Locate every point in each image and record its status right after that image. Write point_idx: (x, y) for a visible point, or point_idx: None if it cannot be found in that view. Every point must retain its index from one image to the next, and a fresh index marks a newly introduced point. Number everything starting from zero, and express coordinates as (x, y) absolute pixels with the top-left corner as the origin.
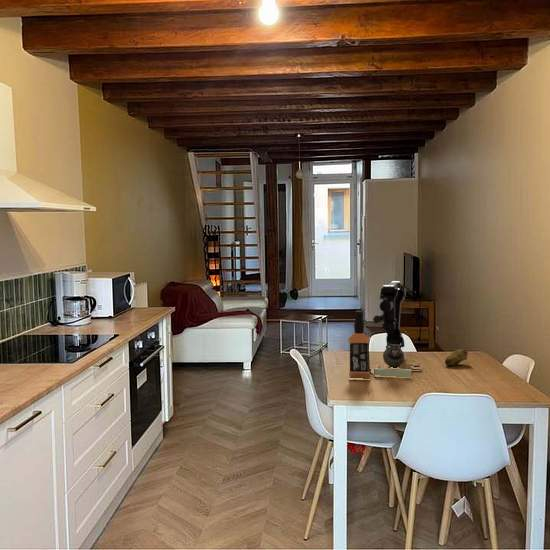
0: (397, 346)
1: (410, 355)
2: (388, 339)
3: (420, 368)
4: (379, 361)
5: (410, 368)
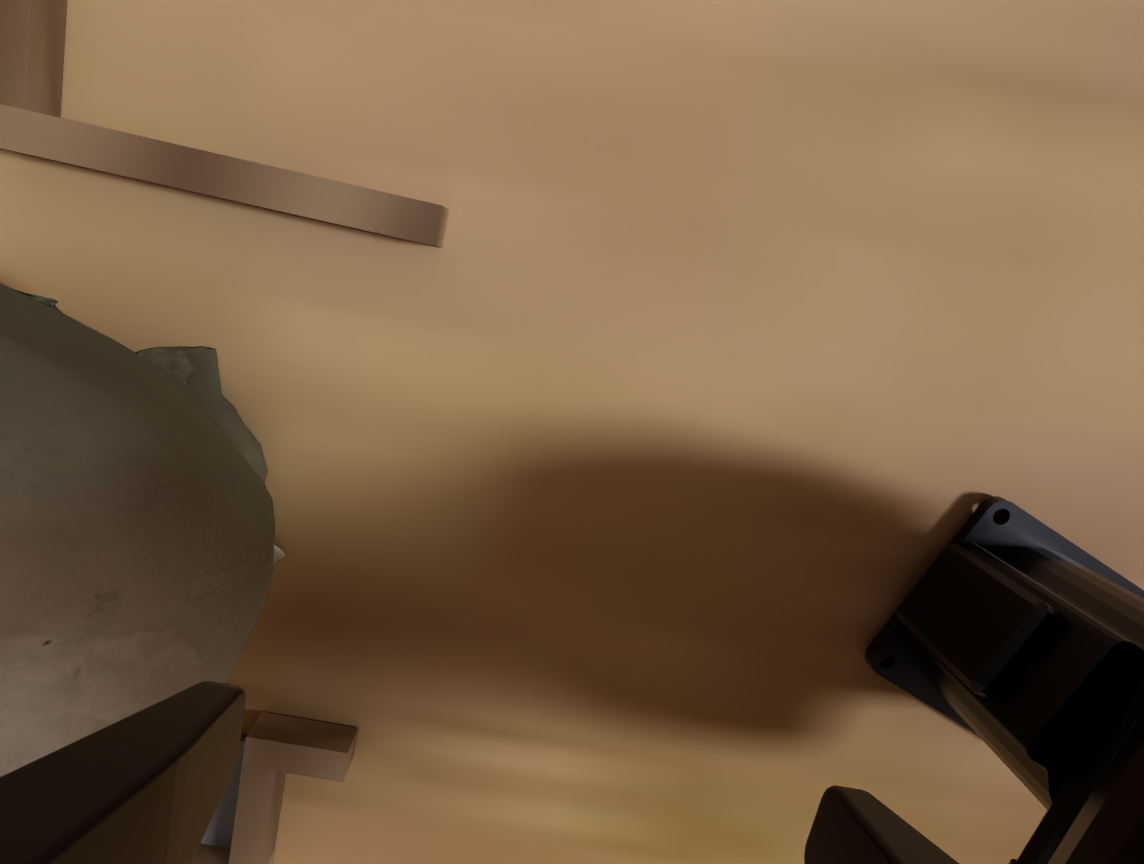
0: (1065, 796)
1: None
2: (162, 707)
3: None
4: (753, 297)
5: None
